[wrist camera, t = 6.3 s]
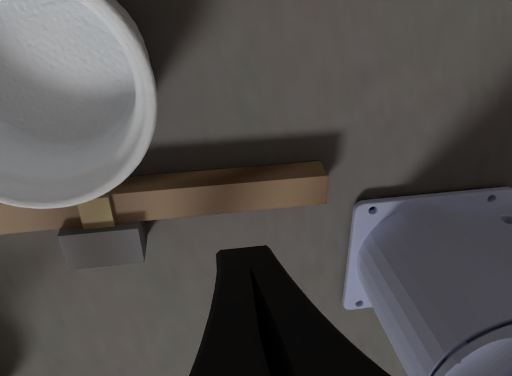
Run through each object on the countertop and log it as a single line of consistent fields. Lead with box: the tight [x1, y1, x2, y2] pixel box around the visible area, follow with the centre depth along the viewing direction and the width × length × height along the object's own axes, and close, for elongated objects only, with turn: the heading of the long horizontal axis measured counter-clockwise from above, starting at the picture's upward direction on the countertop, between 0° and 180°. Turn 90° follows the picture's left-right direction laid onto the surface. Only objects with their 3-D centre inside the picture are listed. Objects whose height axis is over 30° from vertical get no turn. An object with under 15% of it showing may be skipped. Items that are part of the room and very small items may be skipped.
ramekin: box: [0, 0, 158, 209], centre depth 16 cm, size 9×9×4 cm
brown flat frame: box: [0, 161, 329, 270], centre depth 17 cm, size 23×18×2 cm
